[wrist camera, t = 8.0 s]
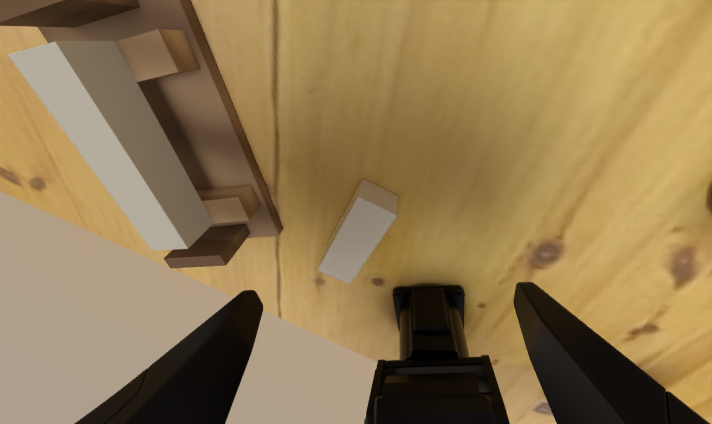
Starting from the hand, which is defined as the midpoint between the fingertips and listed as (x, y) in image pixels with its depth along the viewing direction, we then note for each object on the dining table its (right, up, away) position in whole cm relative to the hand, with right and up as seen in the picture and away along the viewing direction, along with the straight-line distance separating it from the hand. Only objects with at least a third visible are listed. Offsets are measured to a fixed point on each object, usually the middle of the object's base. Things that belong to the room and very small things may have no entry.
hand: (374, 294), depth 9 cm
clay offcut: (-1, 0, +11) cm, 11 cm away
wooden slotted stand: (-14, +9, +11) cm, 20 cm away
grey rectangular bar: (-14, +7, +9) cm, 18 cm away
